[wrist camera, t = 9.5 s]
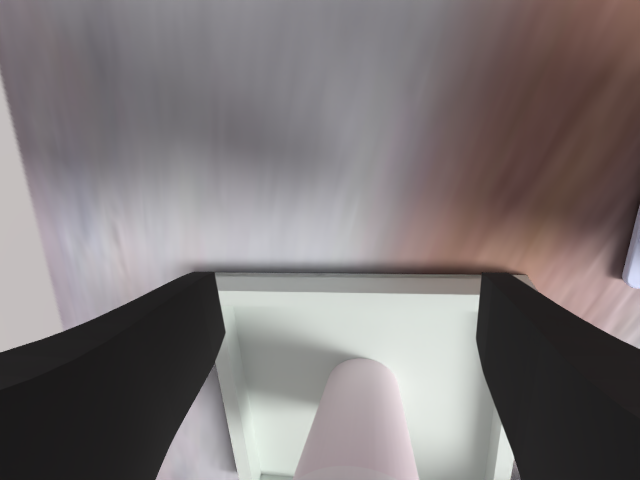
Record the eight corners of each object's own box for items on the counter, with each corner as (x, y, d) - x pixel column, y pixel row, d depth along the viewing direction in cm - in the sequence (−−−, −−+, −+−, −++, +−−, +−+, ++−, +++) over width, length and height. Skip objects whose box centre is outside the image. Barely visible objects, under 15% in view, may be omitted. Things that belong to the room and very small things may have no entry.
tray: (527, 275, 18) (541, 295, 17) (494, 497, 24) (502, 529, 22) (215, 272, 21) (201, 290, 19) (252, 476, 26) (243, 504, 25)
